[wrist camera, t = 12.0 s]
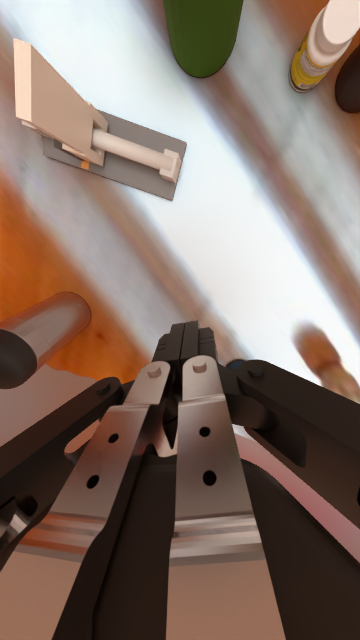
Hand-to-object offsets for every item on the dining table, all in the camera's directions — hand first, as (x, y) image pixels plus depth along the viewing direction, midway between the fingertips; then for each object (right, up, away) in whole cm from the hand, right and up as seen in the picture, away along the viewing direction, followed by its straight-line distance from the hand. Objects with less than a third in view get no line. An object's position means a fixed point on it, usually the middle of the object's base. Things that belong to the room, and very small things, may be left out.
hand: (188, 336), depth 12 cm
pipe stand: (-11, +28, +22) cm, 38 cm away
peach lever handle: (-14, +28, +20) cm, 38 cm away
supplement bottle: (+17, +35, +17) cm, 42 cm away
